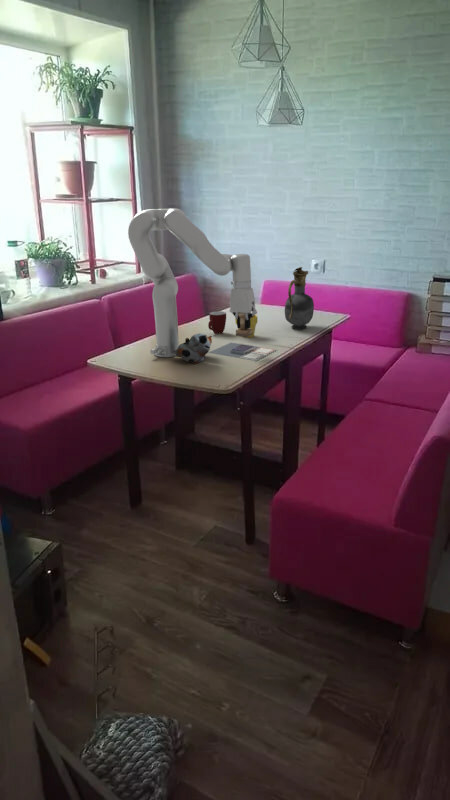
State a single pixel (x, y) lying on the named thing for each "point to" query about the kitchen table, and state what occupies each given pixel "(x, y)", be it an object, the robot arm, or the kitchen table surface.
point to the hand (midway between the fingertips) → (243, 327)
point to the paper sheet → (257, 353)
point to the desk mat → (226, 350)
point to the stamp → (243, 327)
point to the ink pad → (242, 349)
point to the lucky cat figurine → (194, 348)
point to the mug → (217, 321)
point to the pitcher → (299, 302)
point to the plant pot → (253, 325)
